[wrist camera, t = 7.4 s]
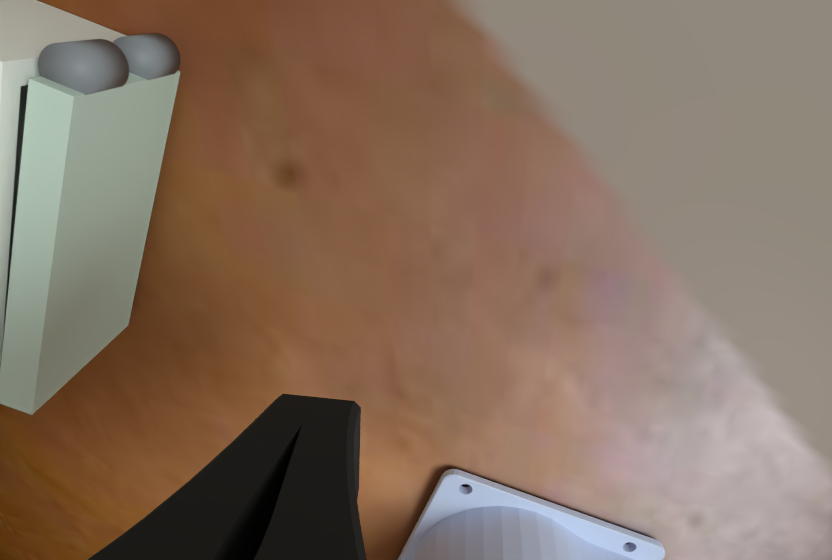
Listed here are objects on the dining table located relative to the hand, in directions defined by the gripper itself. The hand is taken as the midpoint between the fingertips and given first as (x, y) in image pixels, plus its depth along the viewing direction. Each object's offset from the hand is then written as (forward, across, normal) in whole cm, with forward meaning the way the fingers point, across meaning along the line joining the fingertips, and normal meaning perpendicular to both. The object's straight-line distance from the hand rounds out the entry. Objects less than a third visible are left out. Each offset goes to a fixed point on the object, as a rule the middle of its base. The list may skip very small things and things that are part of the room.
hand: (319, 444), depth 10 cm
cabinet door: (+10, +8, -1) cm, 13 cm away
